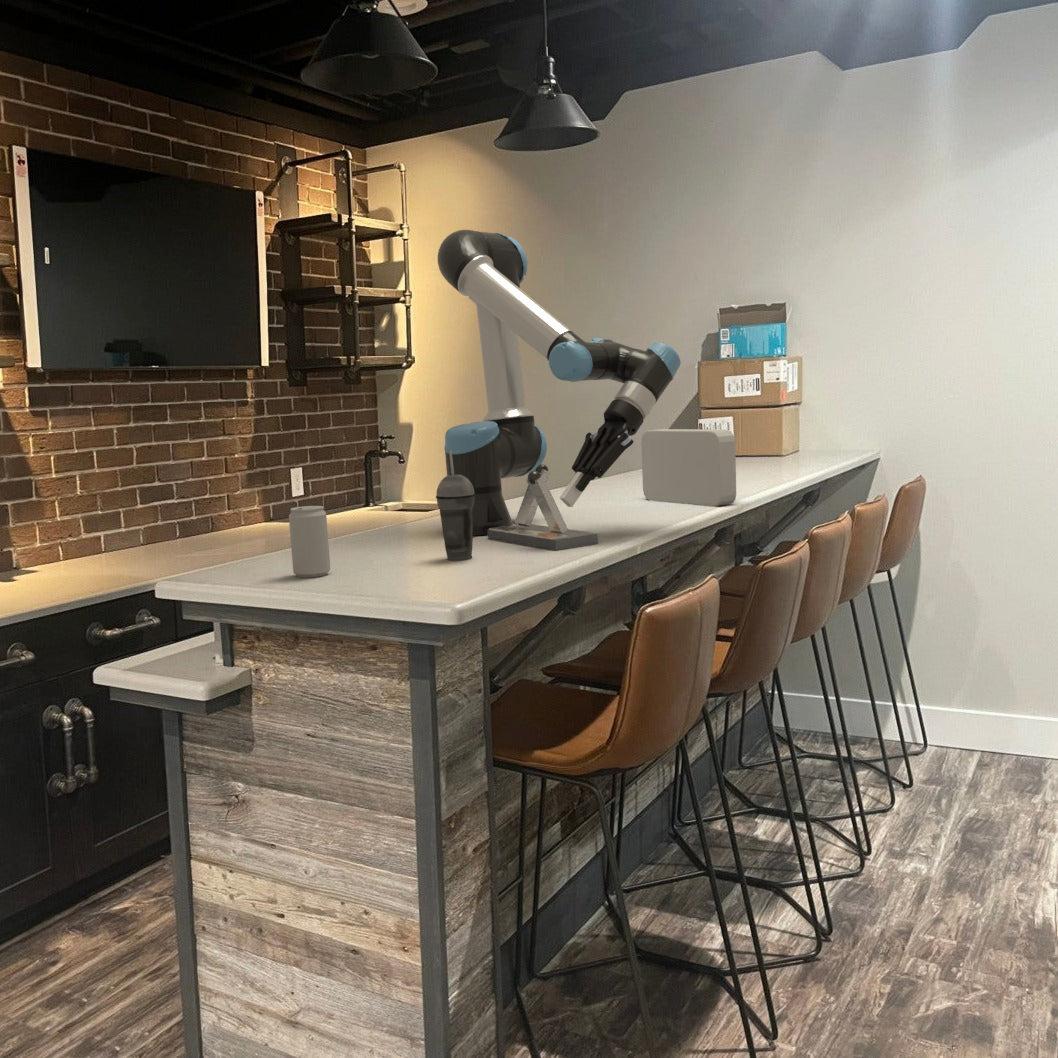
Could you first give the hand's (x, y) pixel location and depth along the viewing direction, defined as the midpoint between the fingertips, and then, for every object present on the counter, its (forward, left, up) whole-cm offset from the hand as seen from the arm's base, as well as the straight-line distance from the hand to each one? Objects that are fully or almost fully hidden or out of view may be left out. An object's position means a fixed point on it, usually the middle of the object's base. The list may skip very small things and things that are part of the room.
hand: (565, 502), depth 199 cm
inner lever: (-11, +9, -6) cm, 16 cm away
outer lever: (-1, -1, -6) cm, 6 cm away
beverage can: (-41, -28, -8) cm, 50 cm away
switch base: (-6, +4, -8) cm, 11 cm away
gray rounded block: (+21, +63, -8) cm, 67 cm away
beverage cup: (-18, -14, -8) cm, 24 cm away
